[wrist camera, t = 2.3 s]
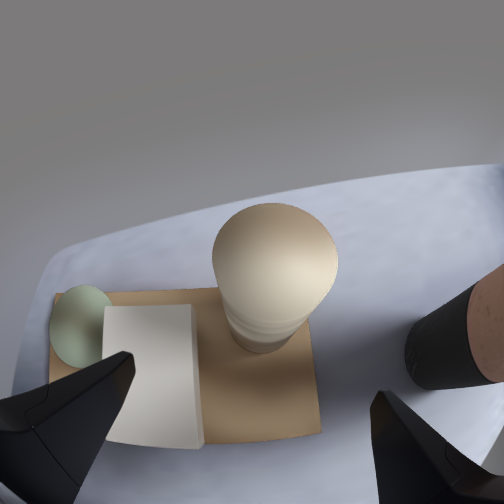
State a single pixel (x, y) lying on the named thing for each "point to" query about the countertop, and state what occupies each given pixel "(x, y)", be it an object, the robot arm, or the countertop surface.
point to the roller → (272, 272)
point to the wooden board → (204, 364)
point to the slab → (157, 375)
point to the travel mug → (461, 339)
